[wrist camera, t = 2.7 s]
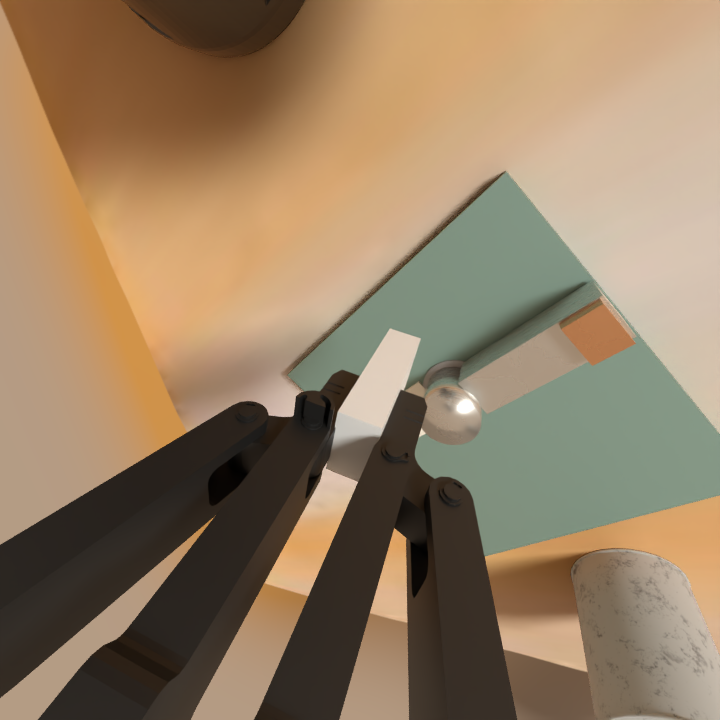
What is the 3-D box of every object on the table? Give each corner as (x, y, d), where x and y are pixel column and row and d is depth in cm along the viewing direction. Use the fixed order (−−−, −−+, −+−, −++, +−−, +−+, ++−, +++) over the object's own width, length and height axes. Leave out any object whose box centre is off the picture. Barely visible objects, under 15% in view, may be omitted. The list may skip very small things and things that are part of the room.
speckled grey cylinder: (548, 566, 38) (566, 719, 28) (639, 535, 32) (703, 712, 22) (615, 619, 38) (657, 788, 28) (716, 598, 33) (812, 798, 23)
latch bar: (451, 420, 31) (445, 453, 27) (416, 384, 30) (406, 413, 27) (628, 324, 23) (649, 354, 20) (586, 272, 22) (601, 294, 19)
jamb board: (293, 368, 36) (271, 392, 32) (505, 170, 22) (506, 175, 19) (477, 548, 40) (474, 586, 36) (750, 472, 26) (787, 520, 23)
